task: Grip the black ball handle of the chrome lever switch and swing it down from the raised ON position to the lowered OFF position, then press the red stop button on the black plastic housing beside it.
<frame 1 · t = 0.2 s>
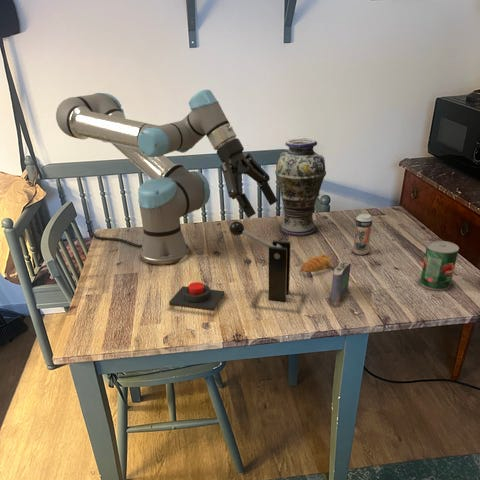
hand: (263, 209, 137), 16 cm above the table, tool tilted 35°, fingers open, 13 cm apart
pastry: (316, 270, 137), on the table
spice shaker: (360, 253, 147), on the table
vase: (298, 230, 165), on the table
stop box: (197, 303, 122), on the table
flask: (338, 298, 122), on the table
canned tomato: (434, 284, 127), on the table
stop button: (196, 288, 119), point 4 cm above the table, slide at 0.1 cm
switch lever: (257, 239, 114), point 17 cm above the table, hinge at 25.0°
switch bracket: (278, 301, 122), on the table
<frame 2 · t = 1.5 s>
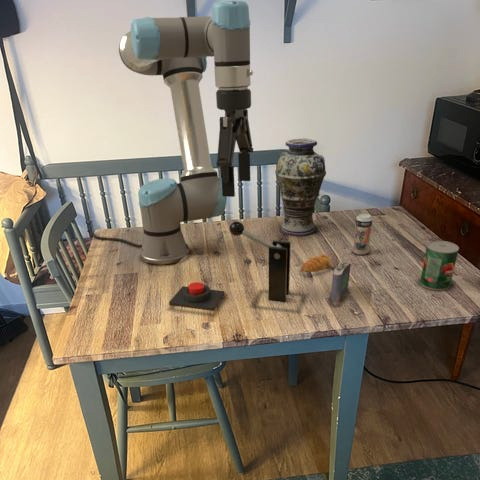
hand: (237, 188, 110), 29 cm above the table, tool pointing down, fingers open, 13 cm apart
nothing on the table moved.
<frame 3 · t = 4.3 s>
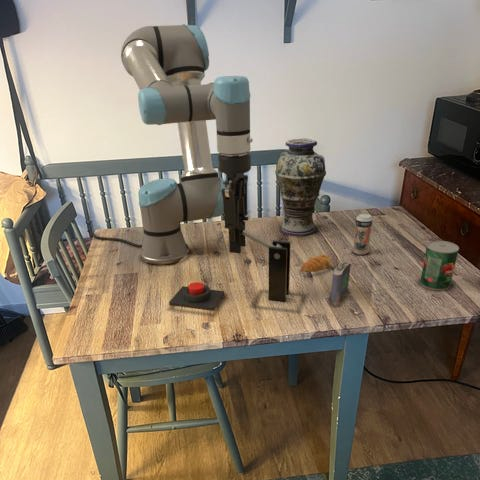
hand: (237, 248, 117), 14 cm above the table, tool pointing down, fingers closed on switch lever, 4 cm apart
switch lever: (257, 239, 114), point 17 cm above the table, hinge at 25.0°, touching gripper
everything else where it was.
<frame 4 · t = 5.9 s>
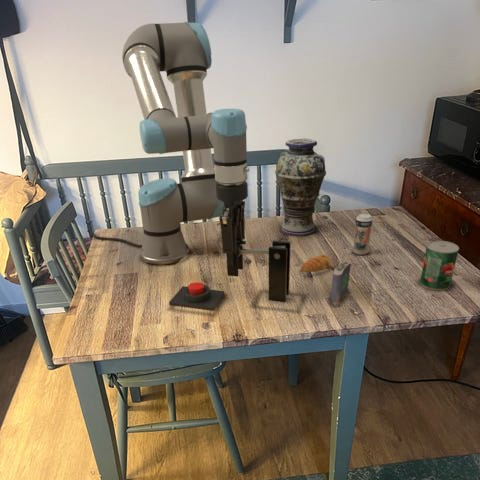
hand: (235, 271, 121), 7 cm above the table, tool pointing down, fingers closed on switch lever, 4 cm apart
switch lever: (255, 251, 116), point 13 cm above the table, hinge at -5.4°, touching gripper
everything else where it was.
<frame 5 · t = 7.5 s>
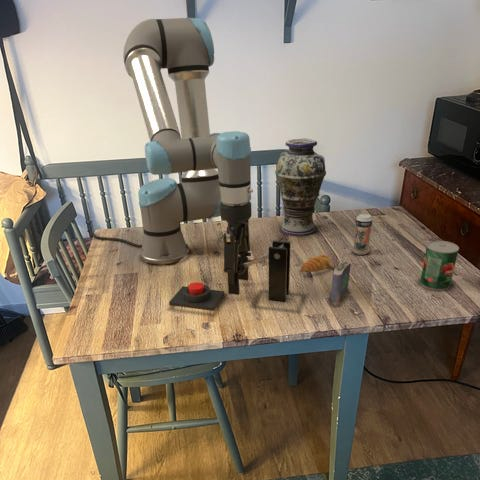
hand: (238, 286, 123), 3 cm above the table, tool pointing down, fingers open, 8 cm apart
switch lever: (258, 259, 117), point 11 cm above the table, hinge at -26.9°
everything else where it was.
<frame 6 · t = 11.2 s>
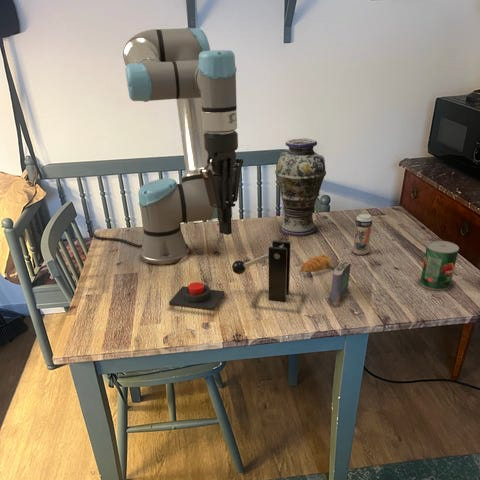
hand: (225, 232, 114), 18 cm above the table, tool pointing down, fingers closed
nothing on the table moved.
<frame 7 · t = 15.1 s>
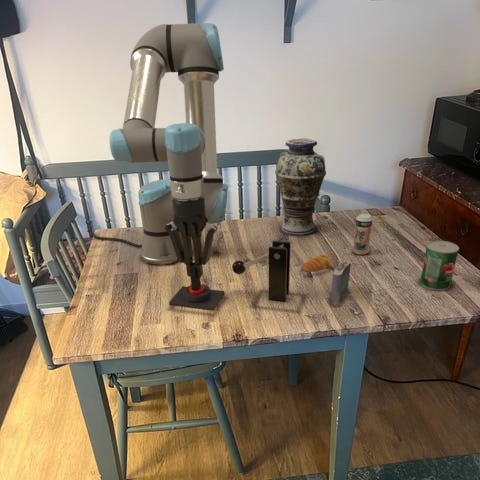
hand: (196, 287, 119), 5 cm above the table, tool pointing down, fingers closed
stop button: (196, 291, 120), point 4 cm above the table, slide at -0.6 cm, touching gripper
everything else where it was.
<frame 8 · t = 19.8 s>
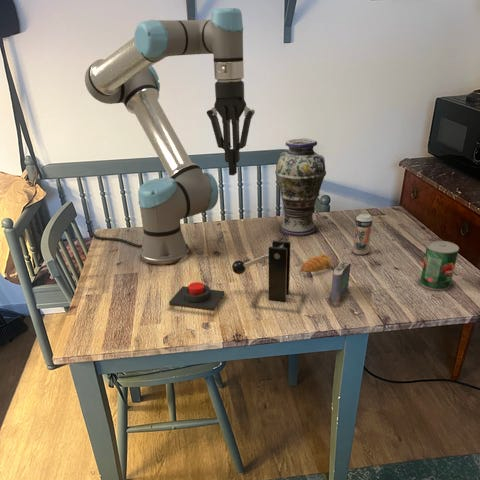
hand: (232, 173, 131), 26 cm above the table, tool pointing down, fingers closed
stop button: (196, 288, 119), point 4 cm above the table, slide at 0.1 cm
everything else where it was.
at the end: switch lever at -27° (first picture: +25°); stop button pushed in 0.8 cm at the most during the clip, back to where it started at the end; stop button slide at 0.1 cm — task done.
